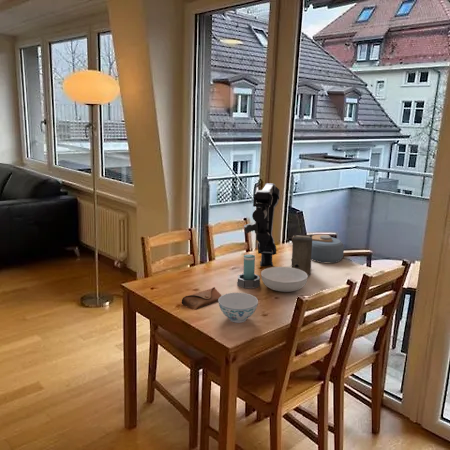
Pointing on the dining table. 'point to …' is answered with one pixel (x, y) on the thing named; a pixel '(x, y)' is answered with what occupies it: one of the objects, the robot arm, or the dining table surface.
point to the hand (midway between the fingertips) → (261, 249)
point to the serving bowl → (284, 278)
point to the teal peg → (249, 267)
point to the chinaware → (238, 306)
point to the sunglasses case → (201, 299)
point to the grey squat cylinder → (326, 248)
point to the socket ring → (248, 282)
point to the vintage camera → (302, 253)
